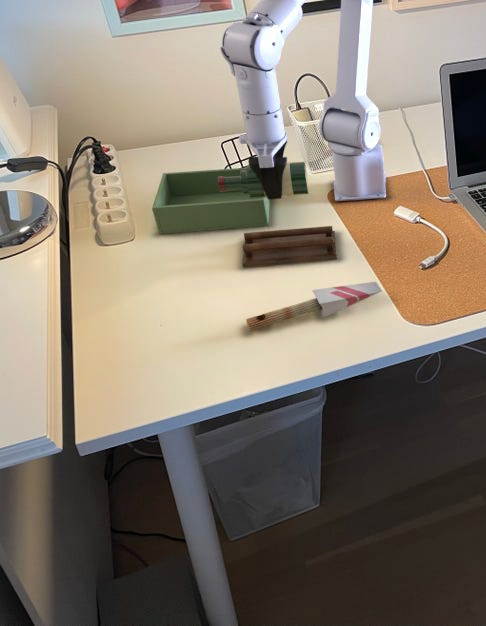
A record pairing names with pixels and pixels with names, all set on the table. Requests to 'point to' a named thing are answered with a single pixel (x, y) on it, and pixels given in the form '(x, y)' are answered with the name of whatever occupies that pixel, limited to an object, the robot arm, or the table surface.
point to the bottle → (250, 184)
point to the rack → (289, 246)
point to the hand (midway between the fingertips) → (275, 189)
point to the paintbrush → (318, 304)
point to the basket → (205, 203)
